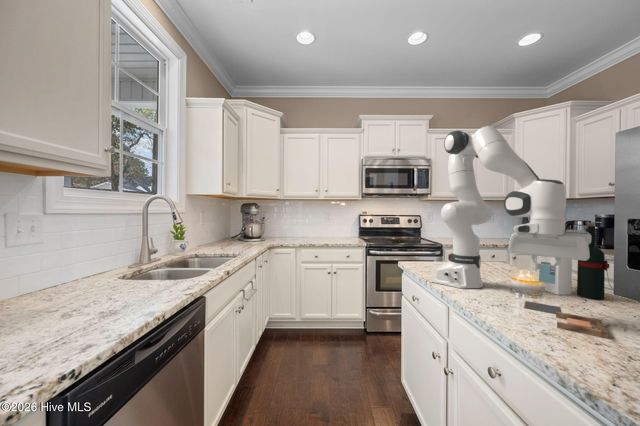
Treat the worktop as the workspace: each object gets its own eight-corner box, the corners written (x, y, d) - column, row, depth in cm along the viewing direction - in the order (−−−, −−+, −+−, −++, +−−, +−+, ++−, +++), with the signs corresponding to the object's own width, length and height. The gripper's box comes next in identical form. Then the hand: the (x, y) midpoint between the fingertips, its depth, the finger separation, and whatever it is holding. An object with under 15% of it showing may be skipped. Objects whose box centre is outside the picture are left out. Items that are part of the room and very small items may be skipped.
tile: (568, 329, 80) (568, 322, 80) (566, 324, 84) (566, 317, 83) (591, 334, 76) (591, 327, 76) (589, 328, 80) (589, 321, 80)
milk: (545, 290, 117) (545, 240, 117) (558, 290, 117) (558, 240, 117) (558, 295, 111) (558, 242, 111) (572, 294, 111) (572, 242, 111)
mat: (523, 309, 95) (523, 308, 95) (525, 301, 102) (525, 300, 102) (561, 316, 88) (561, 315, 88) (560, 308, 96) (560, 307, 96)
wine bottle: (613, 303, 102) (614, 224, 101) (576, 296, 109) (577, 223, 109) (612, 298, 107) (614, 223, 107) (577, 292, 114) (578, 222, 114)
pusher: (538, 281, 87) (539, 264, 86) (539, 277, 92) (540, 261, 92) (555, 284, 84) (556, 266, 84) (554, 279, 89) (555, 263, 89)
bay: (557, 329, 79) (557, 322, 79) (555, 317, 87) (556, 311, 87) (607, 340, 72) (607, 332, 72) (600, 326, 81) (600, 319, 81)
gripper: (590, 229, 83) (588, 273, 84) (510, 225, 97) (509, 263, 97) (593, 231, 79) (591, 277, 79) (508, 226, 92) (507, 266, 92)
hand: (545, 270), depth 88 cm, fingers closed on pusher, 2 cm apart
